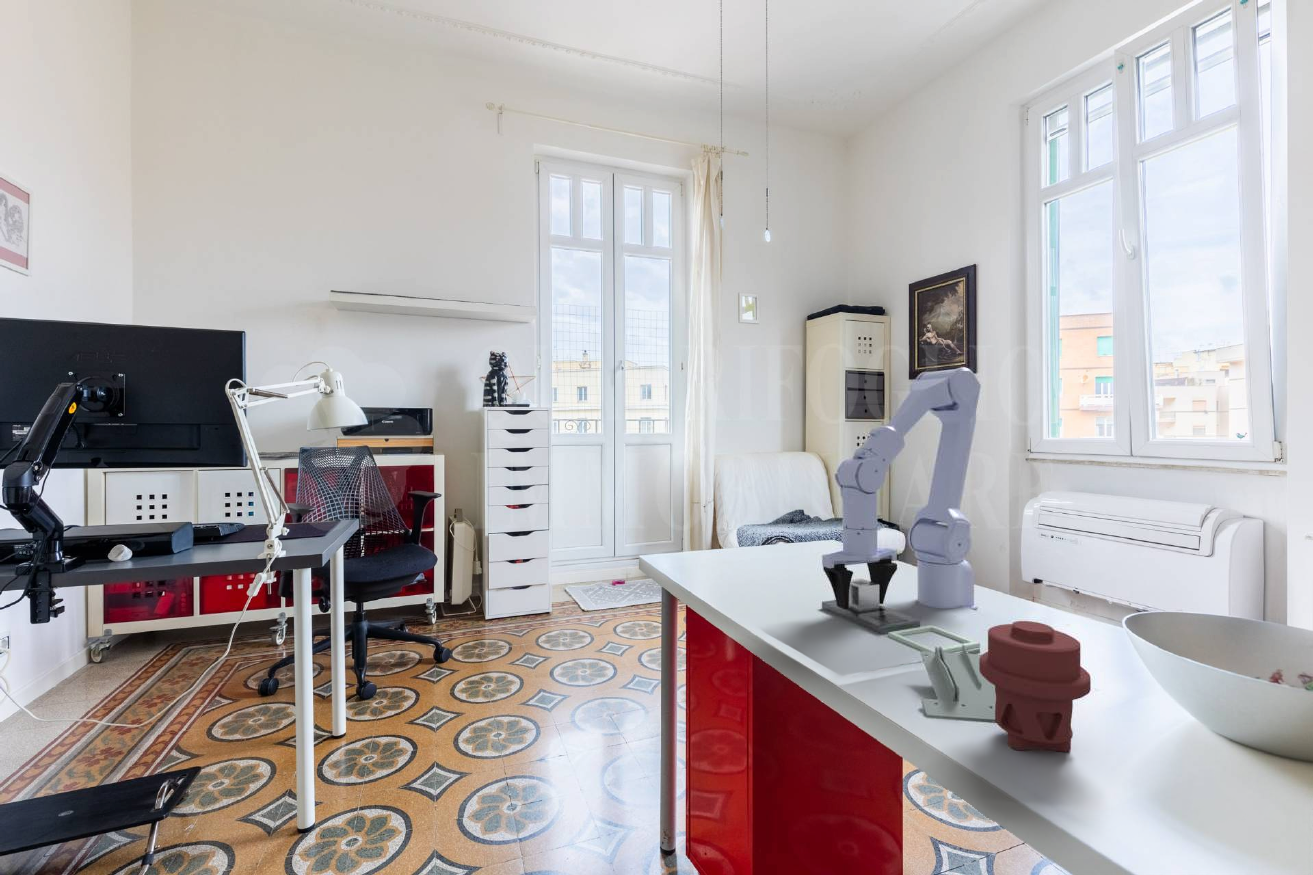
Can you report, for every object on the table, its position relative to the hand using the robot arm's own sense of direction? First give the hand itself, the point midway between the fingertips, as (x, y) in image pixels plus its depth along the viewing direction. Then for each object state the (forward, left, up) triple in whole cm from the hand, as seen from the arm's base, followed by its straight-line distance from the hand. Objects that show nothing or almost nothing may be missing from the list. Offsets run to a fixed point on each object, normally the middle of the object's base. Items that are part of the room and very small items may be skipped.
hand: (860, 604), depth 106 cm
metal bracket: (+7, +30, -3) cm, 31 cm away
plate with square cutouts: (0, +2, -3) cm, 3 cm away
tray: (-1, +15, -3) cm, 15 cm away
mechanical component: (+11, +40, -3) cm, 42 cm away
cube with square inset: (0, 0, -2) cm, 2 cm away
